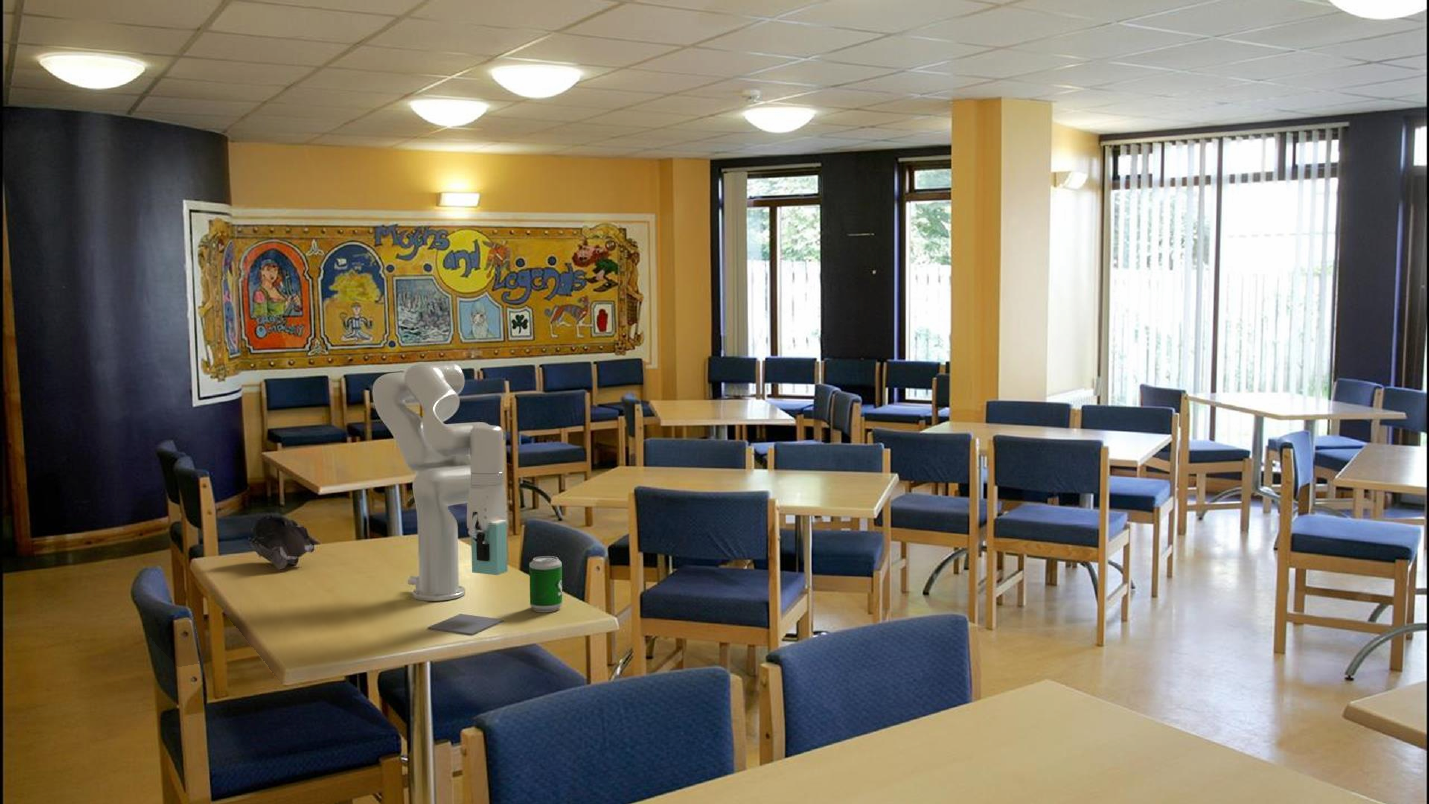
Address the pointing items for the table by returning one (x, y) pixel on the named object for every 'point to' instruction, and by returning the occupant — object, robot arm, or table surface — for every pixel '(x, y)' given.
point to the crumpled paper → (280, 540)
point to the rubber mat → (466, 624)
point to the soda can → (545, 584)
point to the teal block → (493, 551)
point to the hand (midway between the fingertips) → (489, 557)
